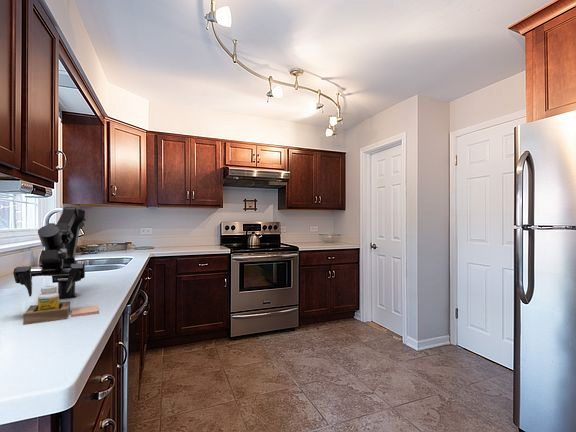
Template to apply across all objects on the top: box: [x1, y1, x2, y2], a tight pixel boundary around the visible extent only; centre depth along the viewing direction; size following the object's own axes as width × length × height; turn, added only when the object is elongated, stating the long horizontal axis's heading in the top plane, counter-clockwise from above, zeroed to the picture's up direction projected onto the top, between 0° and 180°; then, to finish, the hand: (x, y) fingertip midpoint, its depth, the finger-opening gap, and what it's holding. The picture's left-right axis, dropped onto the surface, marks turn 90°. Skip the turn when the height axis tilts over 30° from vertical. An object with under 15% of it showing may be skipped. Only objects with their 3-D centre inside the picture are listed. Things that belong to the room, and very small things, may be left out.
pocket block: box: [22, 301, 71, 326], centre depth 98 cm, size 11×11×3 cm
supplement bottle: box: [37, 285, 60, 311], centre depth 98 cm, size 5×5×10 cm
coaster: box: [70, 305, 100, 318], centre depth 104 cm, size 8×8×1 cm
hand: (48, 294), depth 98 cm, fingers open, 9 cm apart
